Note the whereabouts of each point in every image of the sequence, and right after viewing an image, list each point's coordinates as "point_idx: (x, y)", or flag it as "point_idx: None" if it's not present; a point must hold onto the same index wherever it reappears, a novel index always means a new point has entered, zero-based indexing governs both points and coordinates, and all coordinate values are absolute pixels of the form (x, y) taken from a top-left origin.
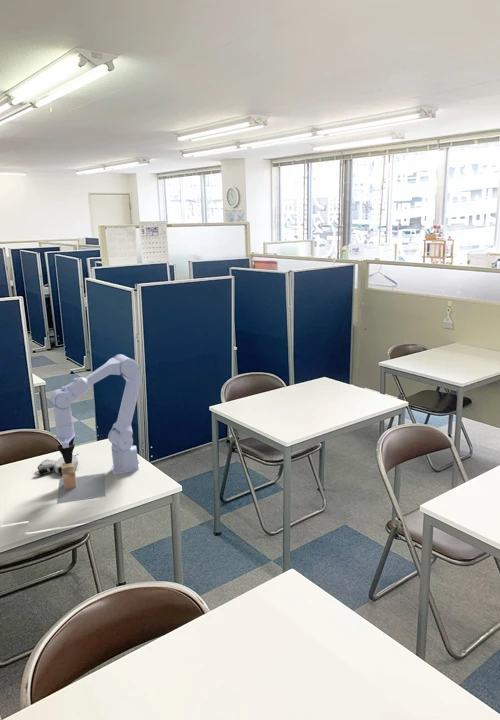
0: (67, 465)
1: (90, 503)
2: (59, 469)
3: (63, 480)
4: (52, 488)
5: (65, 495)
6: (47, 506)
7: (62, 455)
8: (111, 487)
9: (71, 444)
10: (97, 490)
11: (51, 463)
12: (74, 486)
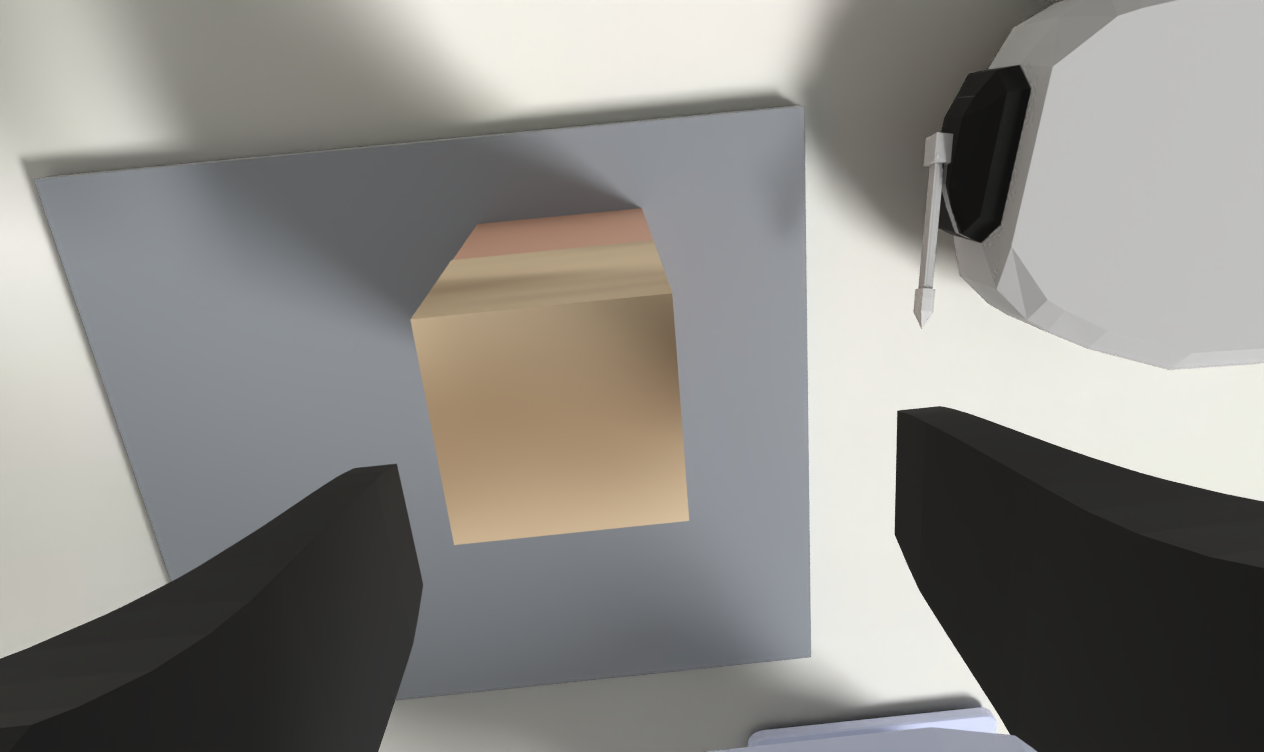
0: (537, 420)
1: (96, 569)
2: (985, 101)
3: (456, 255)
4: (580, 21)
5: (273, 266)
6: (16, 35)
7: (147, 600)
8: (459, 732)
9: (1030, 733)
10: None
11: None
12: None
